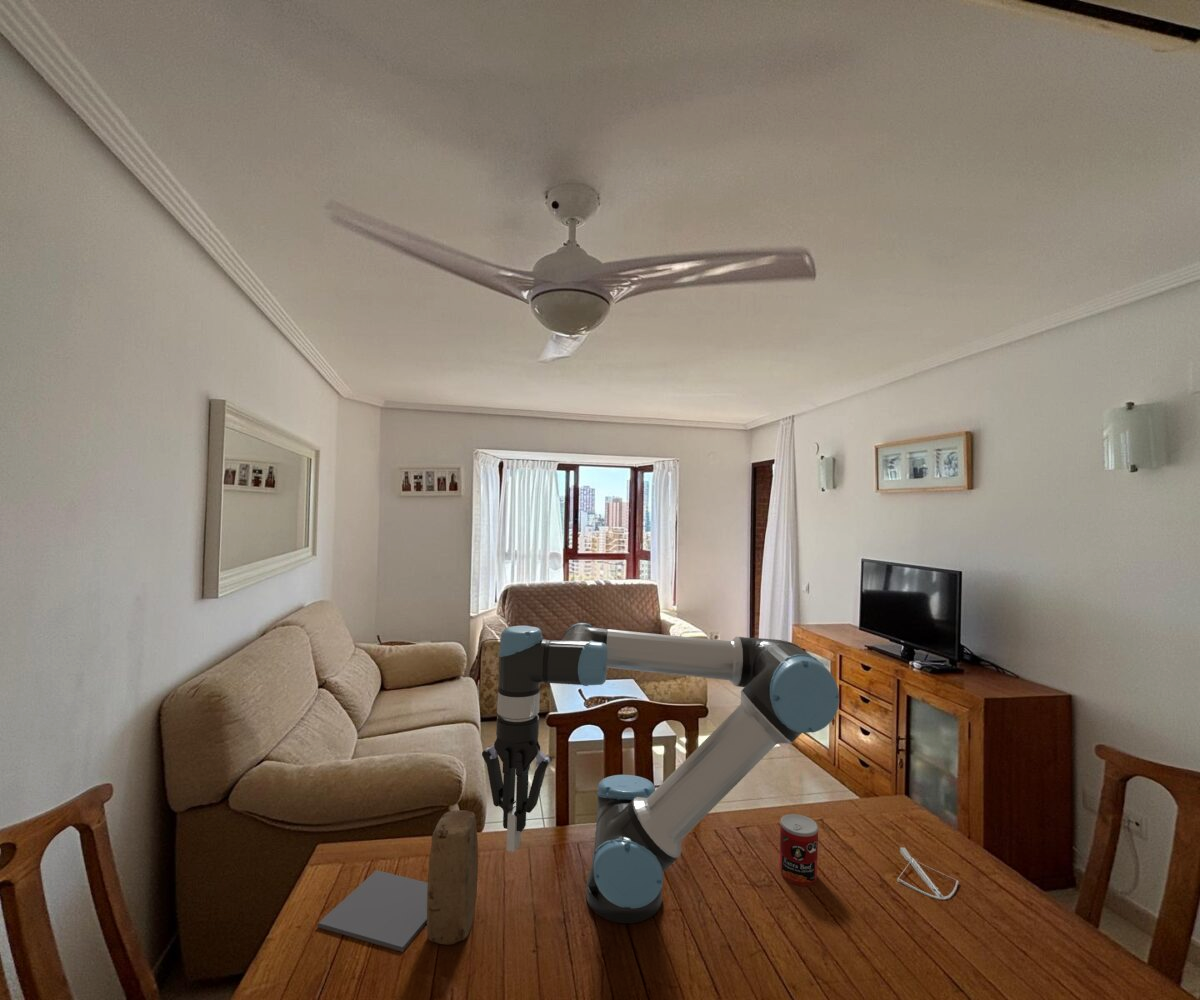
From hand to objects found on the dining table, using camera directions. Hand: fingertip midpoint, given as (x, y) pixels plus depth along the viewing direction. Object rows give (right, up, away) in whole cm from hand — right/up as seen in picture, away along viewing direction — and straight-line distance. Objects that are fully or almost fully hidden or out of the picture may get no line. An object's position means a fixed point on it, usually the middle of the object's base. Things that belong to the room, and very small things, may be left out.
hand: (513, 846), depth 101 cm
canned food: (+58, -19, +21) cm, 65 cm away
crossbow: (+85, -20, +22) cm, 91 cm away
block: (-12, -17, +3) cm, 21 cm away
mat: (-25, -16, +7) cm, 31 cm away
